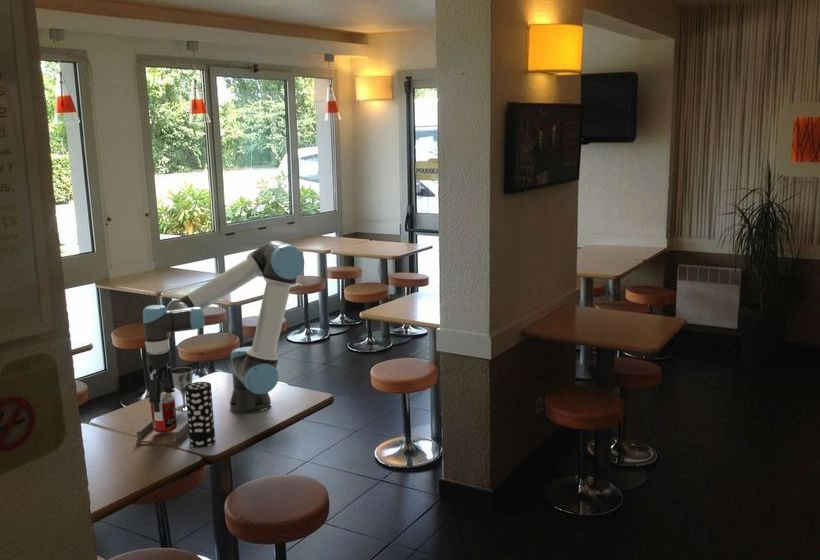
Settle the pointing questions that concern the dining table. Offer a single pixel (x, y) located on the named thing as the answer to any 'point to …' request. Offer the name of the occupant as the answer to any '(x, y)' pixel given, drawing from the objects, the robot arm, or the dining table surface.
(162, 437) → the holder
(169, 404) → the canned food
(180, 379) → the wine glass
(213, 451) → the dining table surface
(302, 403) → the dining table surface
